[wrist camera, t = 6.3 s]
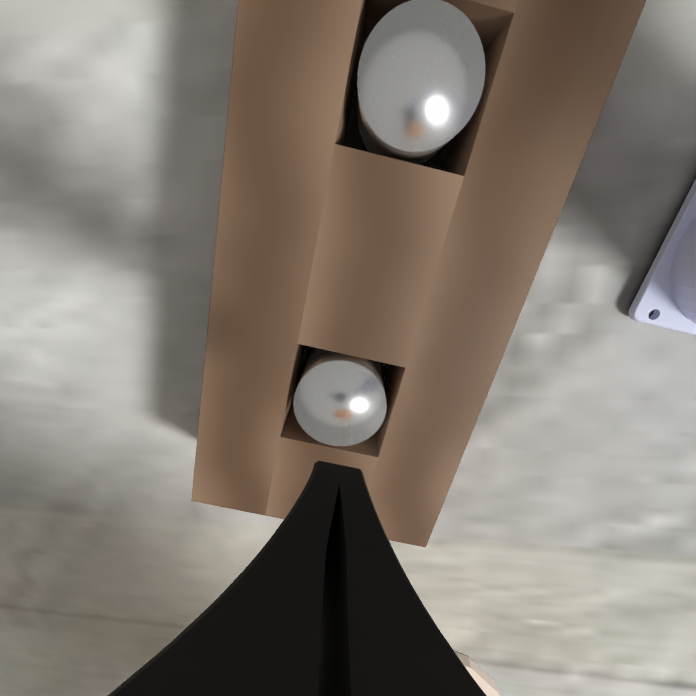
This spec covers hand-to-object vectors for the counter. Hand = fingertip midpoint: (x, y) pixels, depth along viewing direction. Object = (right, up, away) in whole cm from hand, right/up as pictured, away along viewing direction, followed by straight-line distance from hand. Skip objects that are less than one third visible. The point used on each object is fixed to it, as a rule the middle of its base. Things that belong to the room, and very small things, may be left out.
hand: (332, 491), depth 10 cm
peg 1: (0, +3, +9) cm, 9 cm away
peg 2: (+3, +14, +5) cm, 15 cm away
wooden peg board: (+2, +9, +7) cm, 11 cm away
